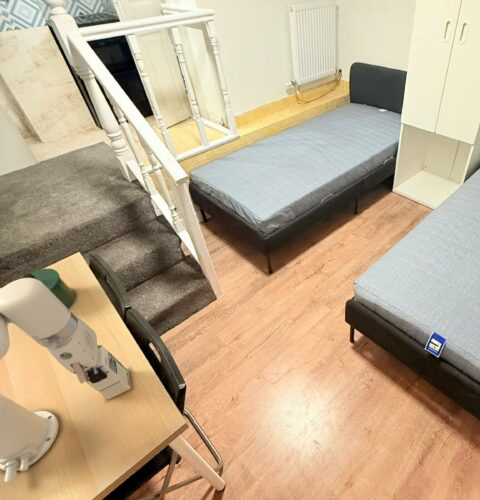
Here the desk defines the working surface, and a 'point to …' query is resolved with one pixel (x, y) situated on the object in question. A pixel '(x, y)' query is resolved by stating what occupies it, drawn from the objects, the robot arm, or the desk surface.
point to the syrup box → (110, 375)
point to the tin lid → (45, 277)
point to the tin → (63, 293)
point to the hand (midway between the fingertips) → (99, 367)
